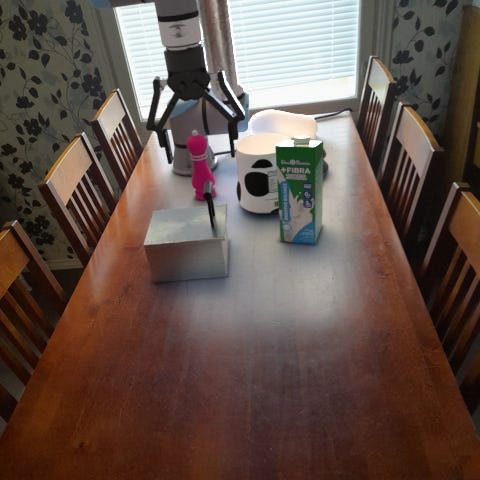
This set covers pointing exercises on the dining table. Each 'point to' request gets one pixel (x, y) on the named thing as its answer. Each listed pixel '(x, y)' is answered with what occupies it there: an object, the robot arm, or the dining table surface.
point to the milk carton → (300, 189)
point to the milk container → (258, 172)
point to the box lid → (188, 224)
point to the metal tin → (188, 261)
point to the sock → (283, 124)
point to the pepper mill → (199, 164)
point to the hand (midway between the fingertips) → (201, 158)
